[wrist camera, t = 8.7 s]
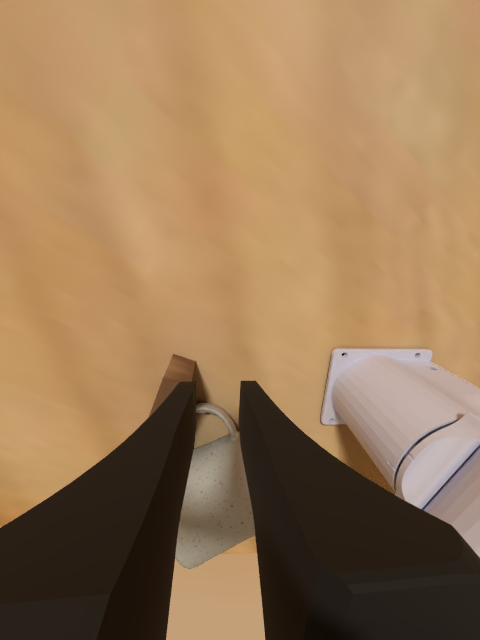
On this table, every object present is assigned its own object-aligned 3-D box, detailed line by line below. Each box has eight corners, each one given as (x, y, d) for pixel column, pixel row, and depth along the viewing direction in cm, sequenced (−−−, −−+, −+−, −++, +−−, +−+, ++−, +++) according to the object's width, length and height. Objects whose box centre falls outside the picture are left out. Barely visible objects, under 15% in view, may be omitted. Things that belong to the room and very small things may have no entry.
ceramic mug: (274, 460, 25) (297, 550, 17) (204, 492, 25) (198, 592, 18) (228, 382, 22) (232, 449, 14) (150, 419, 22) (114, 503, 15)
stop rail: (195, 361, 20) (190, 387, 17) (133, 518, 25) (118, 567, 21) (173, 354, 20) (162, 379, 16) (114, 515, 25) (95, 564, 21)
